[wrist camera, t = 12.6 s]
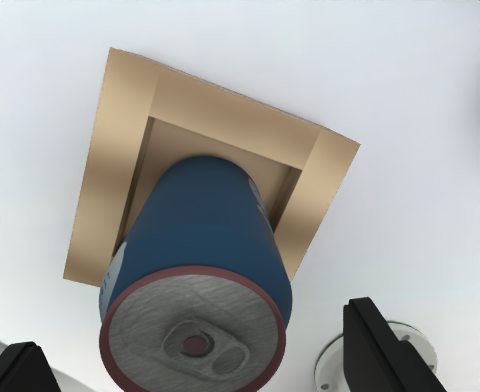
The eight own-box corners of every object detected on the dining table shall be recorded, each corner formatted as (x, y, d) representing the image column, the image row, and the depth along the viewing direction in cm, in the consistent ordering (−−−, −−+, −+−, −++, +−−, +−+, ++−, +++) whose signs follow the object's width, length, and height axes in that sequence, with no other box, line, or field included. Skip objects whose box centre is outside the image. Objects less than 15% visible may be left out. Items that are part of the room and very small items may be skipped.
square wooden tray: (257, 276, 27) (267, 327, 22) (97, 232, 25) (62, 278, 19) (326, 127, 23) (360, 144, 17) (139, 55, 20) (110, 47, 15)
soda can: (134, 212, 20) (36, 375, 9) (193, 128, 19) (157, 205, 8) (219, 262, 22) (220, 448, 11) (279, 190, 21) (351, 325, 9)
